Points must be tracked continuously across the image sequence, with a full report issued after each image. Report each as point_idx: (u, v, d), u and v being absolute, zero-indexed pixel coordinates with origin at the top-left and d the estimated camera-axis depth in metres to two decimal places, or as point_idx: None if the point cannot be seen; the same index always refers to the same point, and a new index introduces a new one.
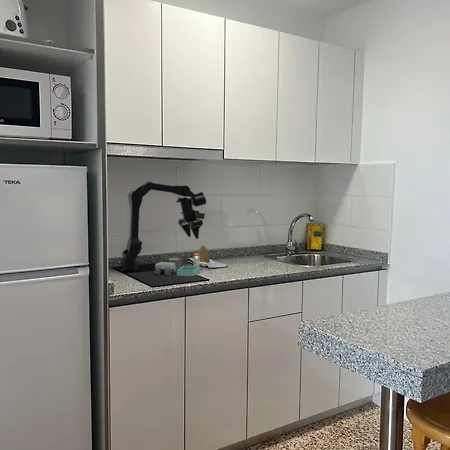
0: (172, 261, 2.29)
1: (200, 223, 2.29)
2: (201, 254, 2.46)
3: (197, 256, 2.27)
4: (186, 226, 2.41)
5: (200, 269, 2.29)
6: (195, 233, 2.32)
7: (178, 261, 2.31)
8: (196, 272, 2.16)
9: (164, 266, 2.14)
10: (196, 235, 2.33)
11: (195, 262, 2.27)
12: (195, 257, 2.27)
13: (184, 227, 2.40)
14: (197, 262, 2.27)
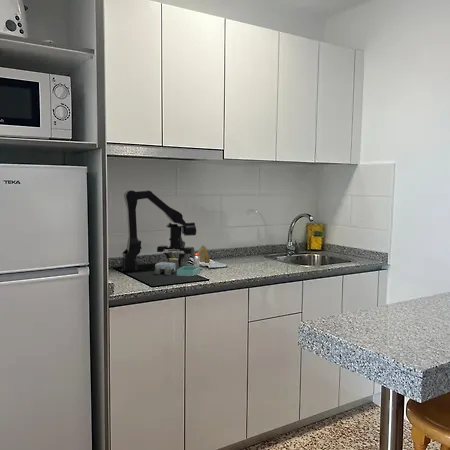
0: (172, 261, 2.29)
1: (193, 251, 2.32)
2: (201, 254, 2.46)
3: (197, 256, 2.27)
4: (170, 254, 2.33)
5: (200, 269, 2.29)
6: (181, 260, 2.31)
7: (178, 261, 2.31)
8: (196, 272, 2.16)
9: (164, 266, 2.14)
10: (181, 262, 2.32)
11: (195, 262, 2.27)
12: (195, 257, 2.27)
13: (169, 255, 2.32)
14: (197, 262, 2.27)
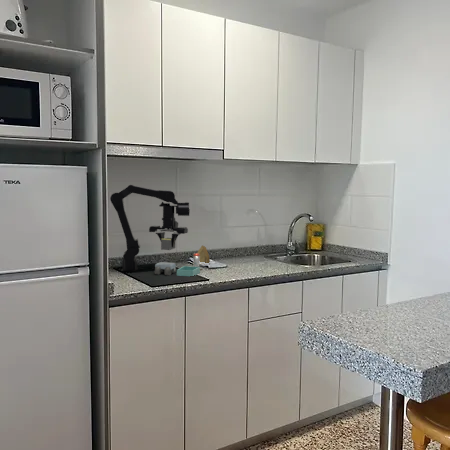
0: (165, 241, 2.23)
1: (187, 231, 2.25)
2: (201, 254, 2.46)
3: (197, 256, 2.27)
4: (162, 234, 2.27)
5: (200, 269, 2.29)
6: (174, 241, 2.25)
7: (171, 241, 2.25)
8: (196, 272, 2.16)
9: (164, 266, 2.14)
10: (173, 243, 2.25)
11: (195, 262, 2.27)
12: (195, 257, 2.27)
13: (161, 235, 2.25)
14: (197, 262, 2.27)
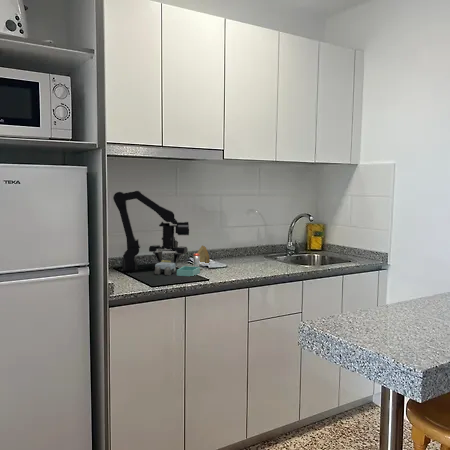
0: None
1: (186, 250, 2.26)
2: (201, 254, 2.46)
3: (197, 256, 2.27)
4: (160, 254, 2.28)
5: (200, 269, 2.29)
6: (176, 260, 2.25)
7: None
8: (196, 272, 2.16)
9: (164, 266, 2.14)
10: (176, 263, 2.26)
11: (195, 262, 2.27)
12: (195, 257, 2.27)
13: (159, 254, 2.26)
14: (197, 262, 2.27)
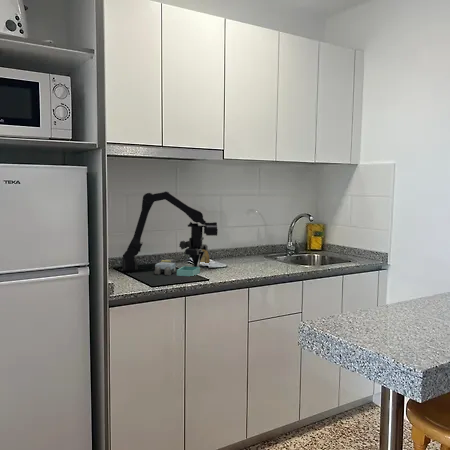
0: None
1: None
2: None
3: None
4: None
5: (200, 269, 2.29)
6: None
7: None
8: (196, 272, 2.16)
9: (164, 266, 2.14)
10: None
11: None
12: None
13: None
14: None
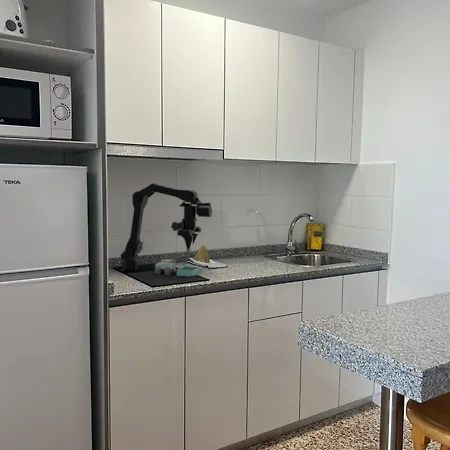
0: None
1: None
2: (201, 254, 2.46)
3: None
4: None
5: (200, 269, 2.29)
6: None
7: None
8: (196, 272, 2.16)
9: (164, 266, 2.14)
10: None
11: None
12: None
13: None
14: None
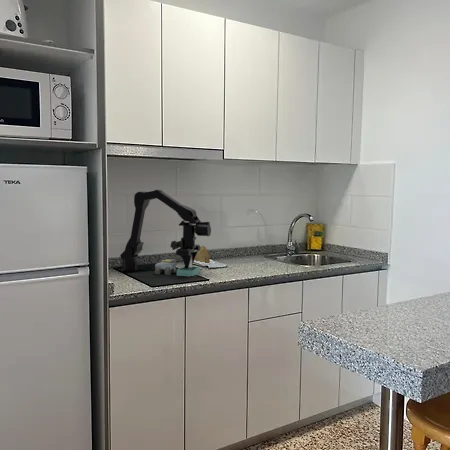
0: None
1: None
2: (201, 254, 2.46)
3: None
4: None
5: (200, 269, 2.29)
6: None
7: None
8: (196, 272, 2.16)
9: (164, 266, 2.14)
10: None
11: None
12: None
13: None
14: (189, 266, 2.15)
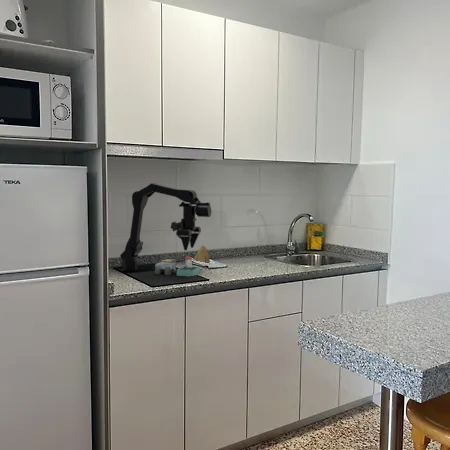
0: None
1: None
2: (201, 254, 2.46)
3: (189, 259, 2.15)
4: None
5: (200, 269, 2.29)
6: None
7: None
8: (196, 272, 2.16)
9: (164, 266, 2.14)
10: None
11: (187, 266, 2.15)
12: (187, 260, 2.15)
13: None
14: (189, 266, 2.15)
